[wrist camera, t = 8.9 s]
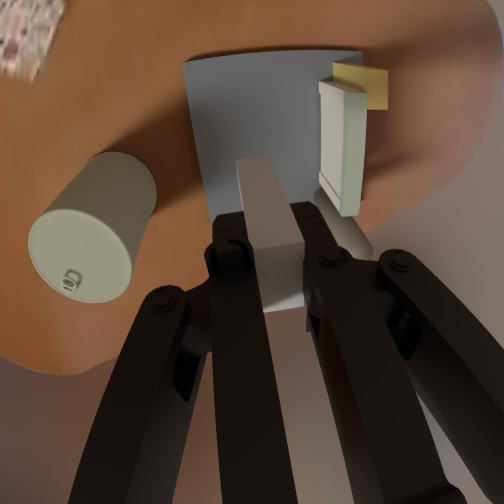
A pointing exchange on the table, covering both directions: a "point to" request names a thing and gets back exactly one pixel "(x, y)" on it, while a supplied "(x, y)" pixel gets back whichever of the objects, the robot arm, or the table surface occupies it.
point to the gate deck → (274, 124)
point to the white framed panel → (342, 144)
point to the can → (95, 229)
